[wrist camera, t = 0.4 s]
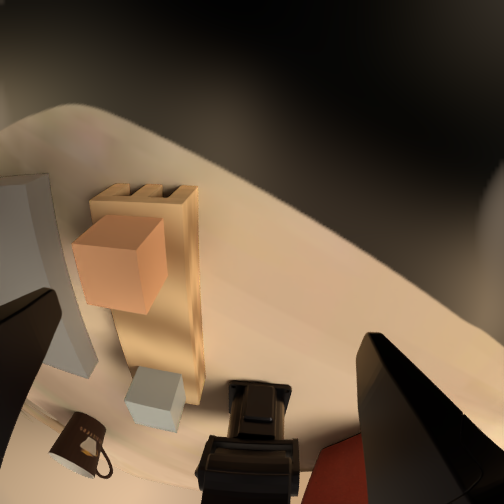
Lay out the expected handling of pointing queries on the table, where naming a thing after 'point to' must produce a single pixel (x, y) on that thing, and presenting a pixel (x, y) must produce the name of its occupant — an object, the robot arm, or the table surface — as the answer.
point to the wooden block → (164, 286)
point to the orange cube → (122, 262)
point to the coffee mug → (81, 446)
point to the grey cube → (156, 398)
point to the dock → (40, 266)
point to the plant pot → (339, 475)
